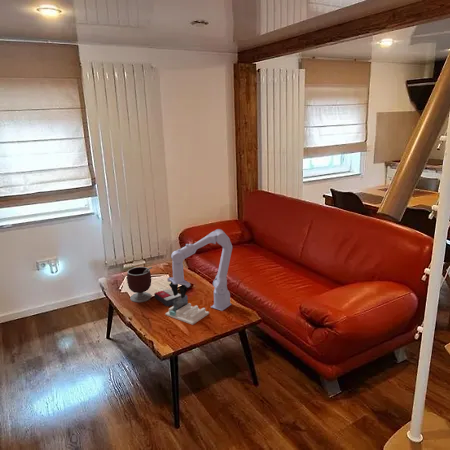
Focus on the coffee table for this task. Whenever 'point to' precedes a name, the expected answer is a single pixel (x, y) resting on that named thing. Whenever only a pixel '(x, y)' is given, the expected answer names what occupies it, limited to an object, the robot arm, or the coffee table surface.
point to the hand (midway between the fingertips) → (179, 296)
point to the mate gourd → (139, 283)
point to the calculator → (166, 297)
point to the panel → (180, 303)
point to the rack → (188, 313)
